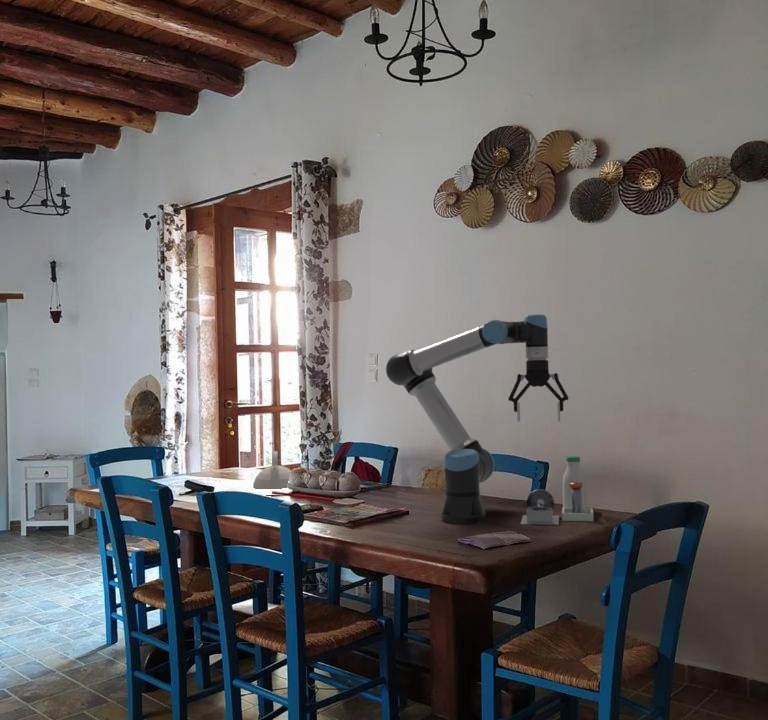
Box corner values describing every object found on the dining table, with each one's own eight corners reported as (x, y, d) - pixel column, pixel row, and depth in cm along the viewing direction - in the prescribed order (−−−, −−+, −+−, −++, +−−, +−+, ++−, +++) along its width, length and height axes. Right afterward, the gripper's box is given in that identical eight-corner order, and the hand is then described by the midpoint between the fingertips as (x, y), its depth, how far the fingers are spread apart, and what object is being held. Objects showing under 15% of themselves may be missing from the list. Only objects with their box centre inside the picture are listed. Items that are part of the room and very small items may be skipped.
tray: (562, 524, 261) (561, 513, 261) (562, 518, 271) (562, 507, 271) (593, 524, 259) (593, 513, 259) (592, 519, 268) (592, 508, 268)
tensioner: (520, 527, 257) (519, 495, 257) (523, 518, 272) (522, 488, 272) (558, 528, 255) (557, 496, 255) (559, 519, 269) (558, 488, 269)
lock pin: (571, 521, 263) (569, 484, 263) (570, 518, 267) (569, 481, 267) (584, 521, 262) (582, 483, 262) (583, 518, 266) (582, 481, 266)
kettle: (250, 497, 334) (249, 454, 335) (254, 489, 355) (253, 449, 355) (299, 495, 336) (298, 452, 336) (300, 488, 357) (299, 447, 357)
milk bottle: (586, 516, 273) (584, 457, 273) (563, 516, 275) (561, 457, 275) (585, 512, 281) (583, 455, 281) (563, 512, 282) (561, 455, 283)
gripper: (499, 360, 275) (501, 422, 274) (574, 358, 269) (576, 421, 269) (501, 360, 282) (503, 420, 282) (574, 358, 276) (576, 420, 276)
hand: (538, 421), depth 275 cm, fingers open, 13 cm apart
